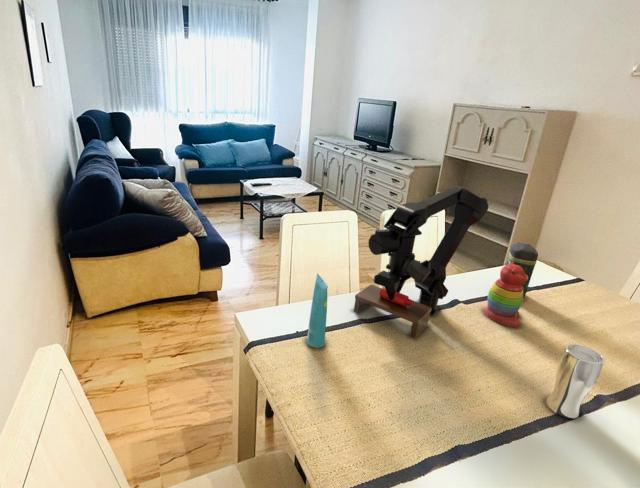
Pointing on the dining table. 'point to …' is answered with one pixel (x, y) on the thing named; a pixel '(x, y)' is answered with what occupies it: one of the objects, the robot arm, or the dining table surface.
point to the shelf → (394, 308)
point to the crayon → (396, 297)
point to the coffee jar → (523, 260)
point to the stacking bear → (506, 296)
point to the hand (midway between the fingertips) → (393, 297)
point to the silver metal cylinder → (574, 379)
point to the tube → (318, 314)
